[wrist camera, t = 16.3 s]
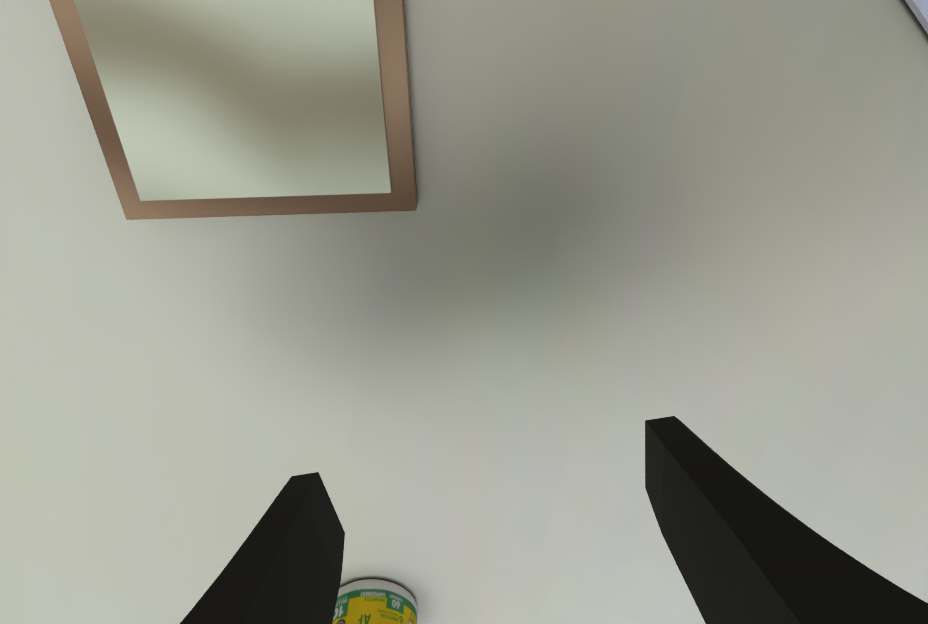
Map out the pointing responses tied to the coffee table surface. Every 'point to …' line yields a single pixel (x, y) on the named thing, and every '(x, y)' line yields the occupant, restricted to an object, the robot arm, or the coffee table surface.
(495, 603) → the coffee table surface
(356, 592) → the supplement bottle
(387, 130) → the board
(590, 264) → the coffee table surface
